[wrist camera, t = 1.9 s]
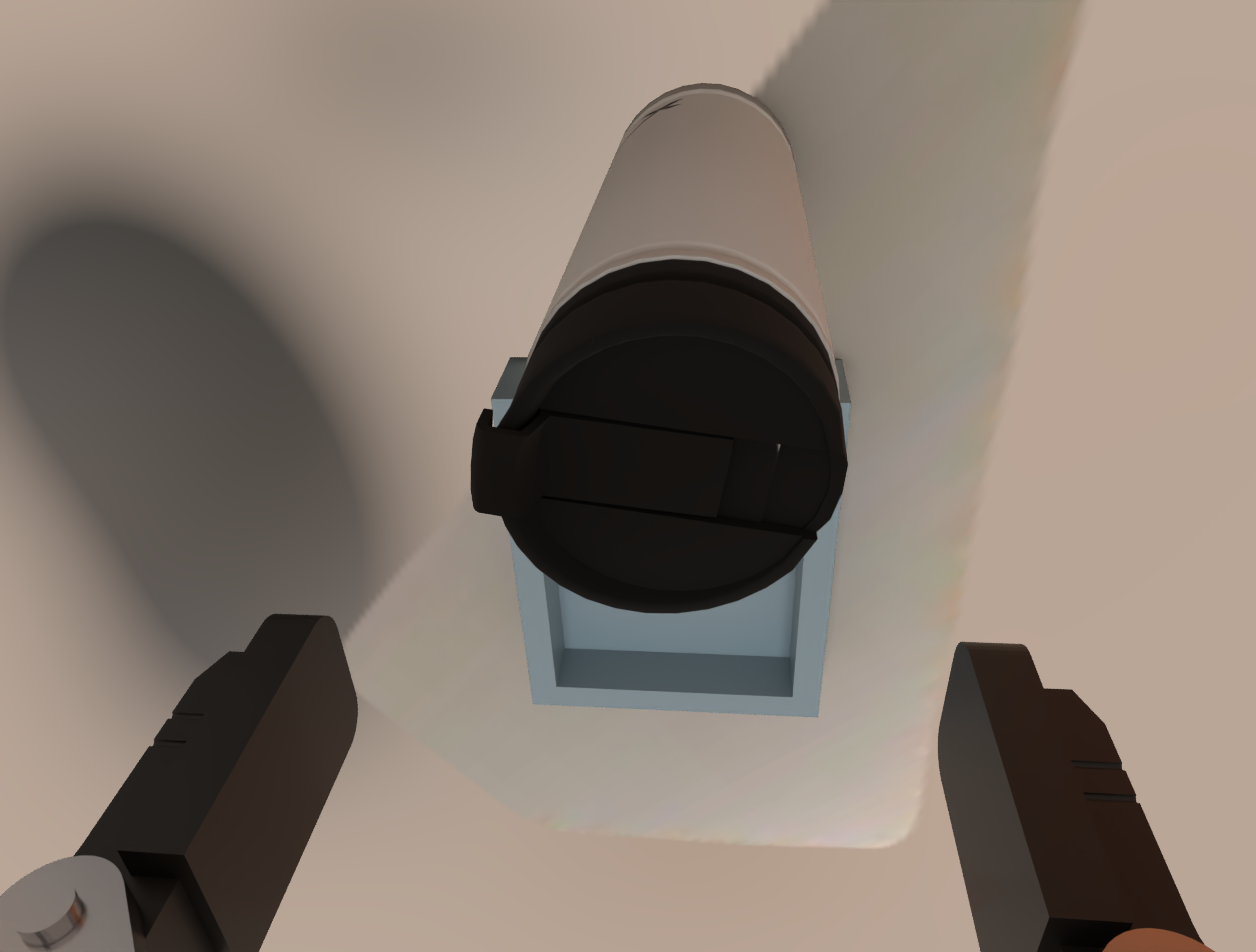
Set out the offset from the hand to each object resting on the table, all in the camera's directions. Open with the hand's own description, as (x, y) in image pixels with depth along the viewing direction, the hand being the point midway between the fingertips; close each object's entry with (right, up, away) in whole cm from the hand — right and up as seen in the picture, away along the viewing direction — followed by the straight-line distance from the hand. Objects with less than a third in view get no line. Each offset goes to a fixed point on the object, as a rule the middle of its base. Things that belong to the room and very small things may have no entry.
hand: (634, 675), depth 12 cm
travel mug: (+2, +13, +20) cm, 24 cm away
